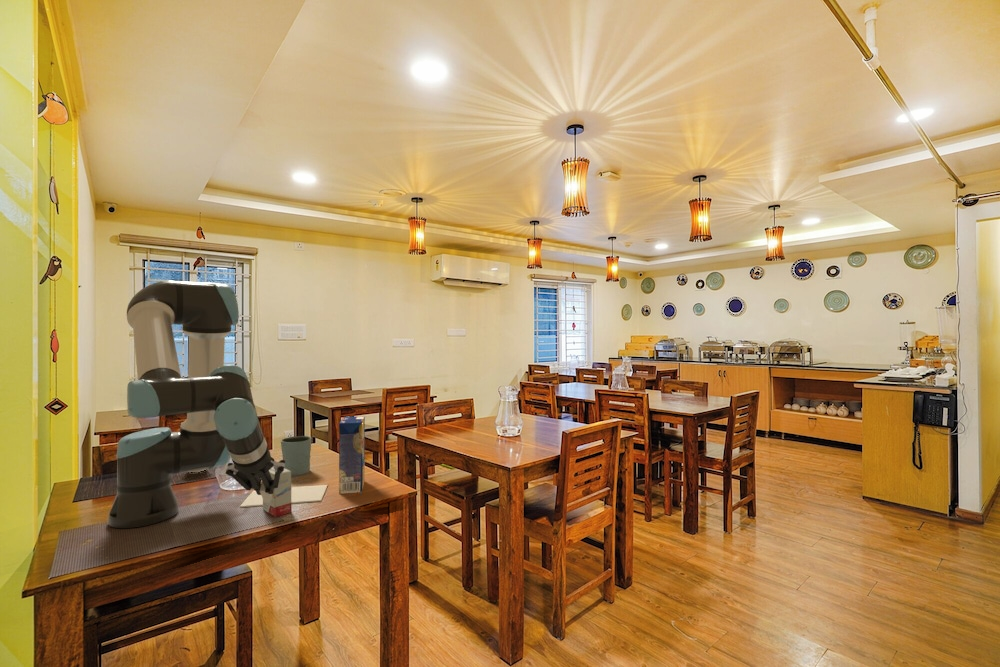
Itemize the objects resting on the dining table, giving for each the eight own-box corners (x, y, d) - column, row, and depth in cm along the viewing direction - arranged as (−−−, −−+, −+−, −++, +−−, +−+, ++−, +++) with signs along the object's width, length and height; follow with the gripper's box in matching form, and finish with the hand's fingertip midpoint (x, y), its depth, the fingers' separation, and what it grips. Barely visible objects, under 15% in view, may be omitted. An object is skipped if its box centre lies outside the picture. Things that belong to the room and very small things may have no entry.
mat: (239, 507, 134) (239, 506, 134) (254, 490, 147) (254, 489, 147) (321, 501, 139) (321, 500, 139) (327, 485, 152) (327, 484, 152)
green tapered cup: (304, 476, 162) (304, 442, 162) (275, 476, 162) (275, 442, 162) (316, 468, 172) (316, 435, 172) (288, 467, 172) (288, 435, 172)
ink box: (292, 512, 130) (292, 470, 130) (274, 517, 127) (274, 474, 126) (279, 504, 136) (279, 464, 136) (262, 509, 132) (262, 468, 132)
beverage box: (364, 481, 157) (364, 416, 157) (361, 492, 146) (362, 422, 146) (343, 482, 156) (343, 416, 156) (339, 493, 145) (339, 423, 145)
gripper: (212, 467, 102) (238, 513, 118) (277, 463, 105) (293, 509, 121) (221, 437, 107) (244, 486, 123) (282, 435, 110) (297, 482, 126)
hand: (268, 497), depth 122 cm, fingers closed
